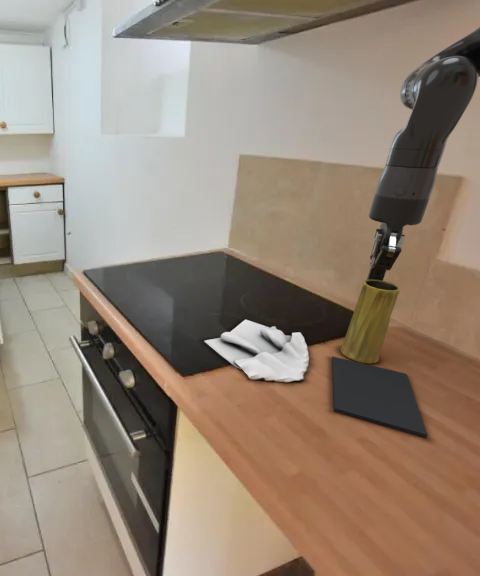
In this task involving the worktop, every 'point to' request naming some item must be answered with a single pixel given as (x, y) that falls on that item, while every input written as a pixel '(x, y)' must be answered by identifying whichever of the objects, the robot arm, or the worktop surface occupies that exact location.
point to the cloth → (263, 352)
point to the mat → (375, 396)
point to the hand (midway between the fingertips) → (372, 286)
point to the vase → (370, 321)
